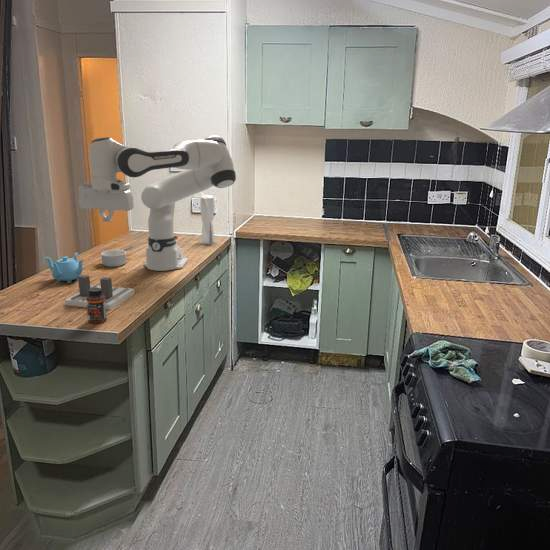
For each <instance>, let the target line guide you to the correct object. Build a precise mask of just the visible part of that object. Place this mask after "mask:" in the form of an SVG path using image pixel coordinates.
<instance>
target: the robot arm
mask: <svg viewBox="0 0 550 550" xmlns="http://www.w3.org/2000/svg"><path fill="white" fill-rule="evenodd" d="M88 150H89V151H88V152H89V153H88V154H89V155H88V156H89V158H88V159H89V165H90V168H91V170H90V180H91V182H89V183H88V182H87V183H86V182H82V183H81V184H79V185H78V192H79V193H78V206H79V207H80V208H81V209H84V210H85V209H86V210H87V209H88V210H98V214H100V216H101V218H102V219H101V220H102V222H104V223H106V222H107V223H111V222H112V221H113V216H114V214H115V211H124V212H125V211H126V212H129V211H132V210H133V208H134V206H135V205H134V198H133V193H132V191H131V190H130V188H131V183H129V182H128V181H125V180H122V179H120V178H118V176H117V175H118V173H121V174H124V175H125V176H127V177H129V178H139V177H142V176H143V175H145V174H147V173H149V172H151V171H153V170H161V169H162V170H163V169H164V170H165V169H170V168H173V169H179V170H181V171H179V172H177V173H174V174H172V175H170V176H166V177H165V178H162V179H160V180H157V181H155V182H152V183H149V184H147V185H146V186H145V188H143V190H142V192H141V194H140V195H141V196H140V197H141V199H140V200H141V201H142V204H143V205H144V206H145V207H146V208H148V209H150V210H149V215H148V219H147V221H148V222H147V223H148V226H147V227H148V238H147V242H148V244H147V245H148V246H147V248H146V249H145V251H146V254H145V256H146V257H145V262H144V263H143V266H144V267H146V268H147V269H148V270H151V271H158V272H159V271H161V272H164V271H165V272H166V271H173V270H179V269H181V270H182V269H183V267H184V266H185V265H186V263H188V261H189V259H188V258H187V257H185V256H184V255H183V253H184V252H183V249H182V248H181V247H180V246H179V245H178V244H177V240H178V235H177V234H176V235H175V233H174V230H175V229H174V215H175V205H176V202H178V201H181V200H184V199H186V198H188V197H191V196H193V195H196V194H200V193H202V192H203V191H205V190H206V191H207V190H208V189H211V188H213V187H216V188H219V189H224V188H227V187H230V186H232V185H234V184H235V181H236V179H237V178H236V176H237V174H236V171H235V168H234V164H233V160H232V157H231V155H230V152H229V150H228V147H227V144H226V141H225V140H224V137H221V136H219V135H210V136H207V137H205V138H204V139H191V140H184V141H180V142H177V143H175V144H173V147H172V148H171V149H167V150H166V149H165V150H156V151H145V150H143V149H140V148H136V147H129V146H126V145H125V144H121V143H119V142H117V141H116V140H114V139H113V138H112V137H109V136H106V137H99V138H95V139H93V140H92V141H91V142H90V143H89V147H88ZM106 210H107V213H108V215H106V213H105V212H106Z"/></svg>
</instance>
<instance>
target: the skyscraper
mask: <svg viewBox="0 0 550 550" xmlns="http://www.w3.org/2000/svg"><path fill="white" fill-rule="evenodd" d="M199 194H200V195H199V197H200V198H199V199H200V203H199V204H200V209H199V210H200V218H201V222H202V227H201V242H200V245H203V246H204V245H205V246H213V245H216V243H217V244H218V241H215V234H214V232H215V231H214V225H213V221H214V220H213V219H214V215H215V214H214V213H215V201H214V196H213V195H211V194H210V195H208V194H207V195H206V194H205V195H204V194H203V192H199Z"/></svg>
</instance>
